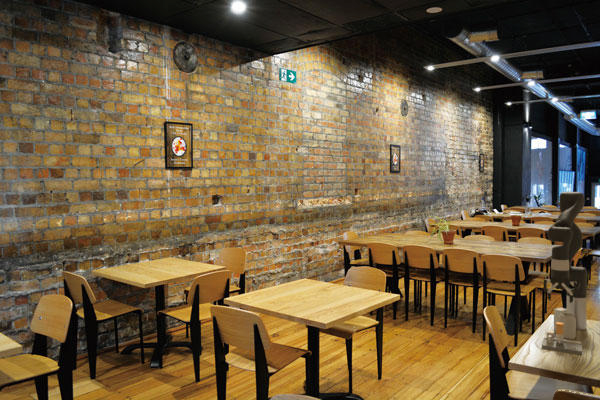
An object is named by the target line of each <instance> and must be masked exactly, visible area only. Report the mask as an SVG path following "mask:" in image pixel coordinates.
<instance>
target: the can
mask: <svg viewBox="0 0 600 400" xmlns="http://www.w3.org/2000/svg"><path fill="white" fill-rule="evenodd" d="M559 322H560V323H564V338H565V339H564V340H574V339H575V338H576V336H577V331H576V330H577V329H576V318H575V317H574V315H573V314H570V313H561V314H560V316H559Z"/></svg>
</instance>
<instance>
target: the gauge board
mask: <svg viewBox="0 0 600 400" xmlns="http://www.w3.org/2000/svg"><path fill="white" fill-rule="evenodd" d="M541 349H545V350H550V351H557V352H563V353H569V354H574V355H581V356H583V343H581V341H576V340H570V339H564V343H563V344H560V345H558V343H556V337H555V331H554V330H551V329H547V330H546V336H545V337H543V339H542V343H541Z"/></svg>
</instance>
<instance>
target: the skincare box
mask: <svg viewBox="0 0 600 400" xmlns="http://www.w3.org/2000/svg"><path fill="white" fill-rule="evenodd" d="M561 313H568V309H566V308H564V307H557V308H554V309H553V331H554V333H556V322H559V316H560V314H561Z"/></svg>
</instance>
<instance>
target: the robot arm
mask: <svg viewBox="0 0 600 400" xmlns="http://www.w3.org/2000/svg"><path fill="white" fill-rule="evenodd" d="M558 198H559V209H560V211H559V212H560V214H559V215H558V217H557V218H556V221H555V222H554V224H552V225H551V226H550V227H549V228H548V230H547V233H546V234H547V238H548V240H549V241H551V242H557V243H558V242H560V243H562V245H559V246H553V247H552V248H551V263H550V264H551V265H550V271H551V273H550V275H551V276H550V277H551V279H548V278H544V279H543V285H542V286H543V291H544V292H546V293H547V300H548V301H552V291H554V290H555V289H556V290H563V291H564V290H566V307H565V309H568V313H570V314H573V315H574V317H575V318H576V330H579V331H580V330H581V331H582V330H586V329H587V315H588V314H587V312H588V310H587V308H588V307H587V305H588V303H587V300H588V299H587V296H588V295H587V293H588V292H587V289H588V287H587V286H588V270H587V268H586V267H583V266H572V261H573V259H574V257H576V255H577V254H578V252H579V251H580V250H581V249H582V246H583V243H584V242H583V232H582V230H581V229H580V227H579V226H578V224H577V223H576V222H575V219H576V218H577V217H578V216H579V214H580V213H581V211H582V210H583V208H584V206H585V202H586V201H585V200H586V199H585V195H584V193H582V192H580V191H563V192H560V194H559V197H558ZM549 283H550V284H551V286H550V287H549V288H547V285H548V284H549ZM570 285H571V286H572V287H573V288H570V287H569V286H570Z"/></svg>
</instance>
